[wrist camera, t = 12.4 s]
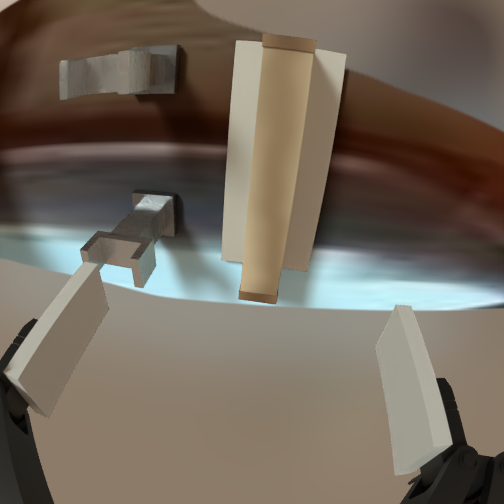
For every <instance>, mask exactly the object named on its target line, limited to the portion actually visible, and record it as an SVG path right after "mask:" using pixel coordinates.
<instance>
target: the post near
mask: <svg viewBox="0 0 504 504" xmlns="http://www.w3.org/2000/svg"><path fill="white" fill-rule="evenodd" d="M179 57H180V45H162V46H148V47H137V48H130V51H121V52H119V54H114V55H106V56H100V57H93V58H87V59H75V60H66V61H61V62H60V100H65V99H70V98H74V97H78V96H82V95H86V94H96V93H107V92H118V94H128V95H133V94H175V93H178V73H179Z"/></svg>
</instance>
